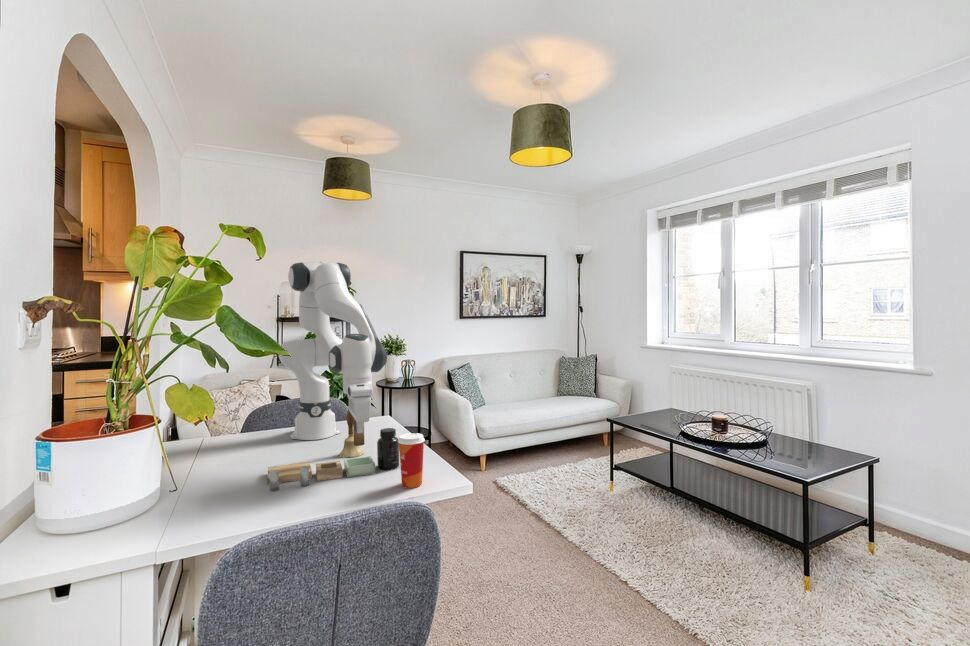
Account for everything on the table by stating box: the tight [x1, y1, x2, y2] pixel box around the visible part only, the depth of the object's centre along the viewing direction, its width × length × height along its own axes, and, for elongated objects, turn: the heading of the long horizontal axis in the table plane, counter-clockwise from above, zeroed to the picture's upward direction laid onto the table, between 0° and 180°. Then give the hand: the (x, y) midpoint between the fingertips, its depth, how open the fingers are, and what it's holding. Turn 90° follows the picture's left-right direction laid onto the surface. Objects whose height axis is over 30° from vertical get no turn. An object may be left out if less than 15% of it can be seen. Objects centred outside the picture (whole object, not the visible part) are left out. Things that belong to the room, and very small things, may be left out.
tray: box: [343, 455, 376, 478], centre depth 144 cm, size 8×8×3 cm
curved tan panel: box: [267, 461, 313, 486], centre depth 140 cm, size 10×12×2 cm
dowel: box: [353, 417, 366, 447], centre depth 143 cm, size 3×3×9 cm
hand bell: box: [338, 408, 365, 459], centre depth 161 cm, size 8×8×16 cm
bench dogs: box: [269, 466, 311, 492], centre depth 131 cm, size 2×10×5 cm, turn 113°
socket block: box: [315, 460, 343, 482], centre depth 140 cm, size 7×7×3 cm
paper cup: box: [398, 432, 426, 489], centre depth 132 cm, size 8×8×14 cm
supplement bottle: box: [376, 427, 400, 471], centre depth 147 cm, size 7×7×12 cm
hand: (358, 431), depth 143 cm, fingers closed on dowel, 3 cm apart
